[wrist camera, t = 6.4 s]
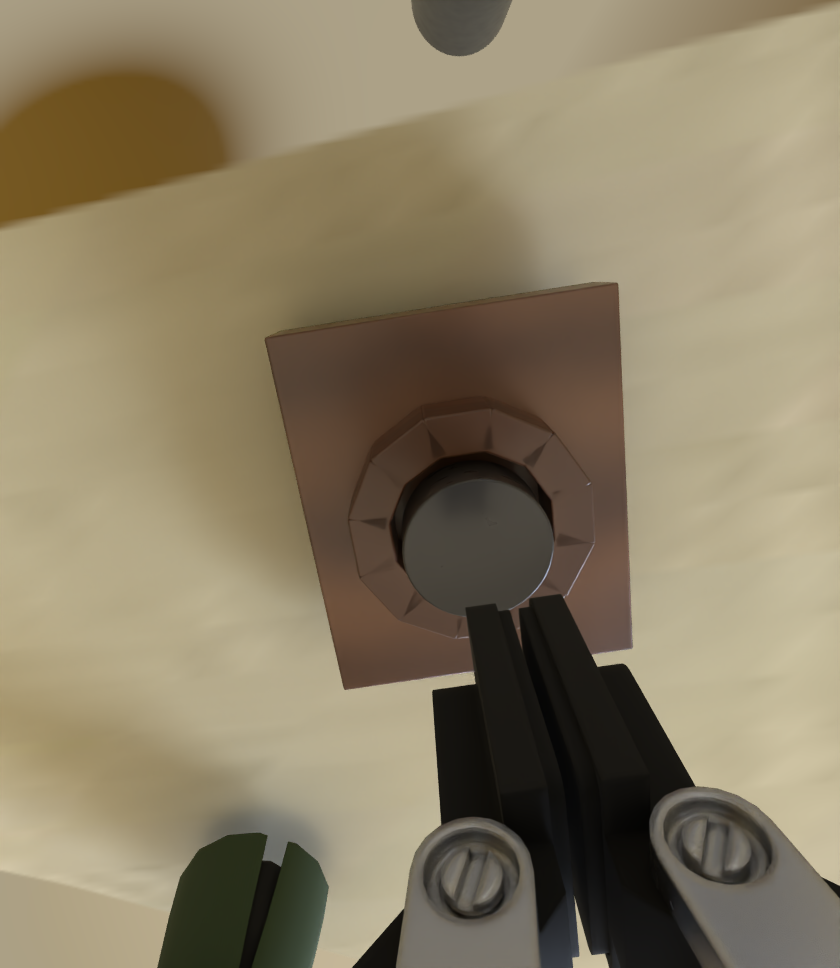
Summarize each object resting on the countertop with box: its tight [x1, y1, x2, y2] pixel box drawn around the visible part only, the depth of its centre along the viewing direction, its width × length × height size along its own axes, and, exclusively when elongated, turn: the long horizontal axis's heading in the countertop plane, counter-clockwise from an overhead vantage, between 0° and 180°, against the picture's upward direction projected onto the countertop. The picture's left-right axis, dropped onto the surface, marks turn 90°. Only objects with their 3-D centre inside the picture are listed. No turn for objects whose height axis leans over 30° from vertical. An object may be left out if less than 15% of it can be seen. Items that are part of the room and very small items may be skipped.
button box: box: [265, 282, 633, 690], centre depth 19 cm, size 12×10×4 cm
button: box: [402, 460, 554, 617], centre depth 17 cm, size 4×4×2 cm
